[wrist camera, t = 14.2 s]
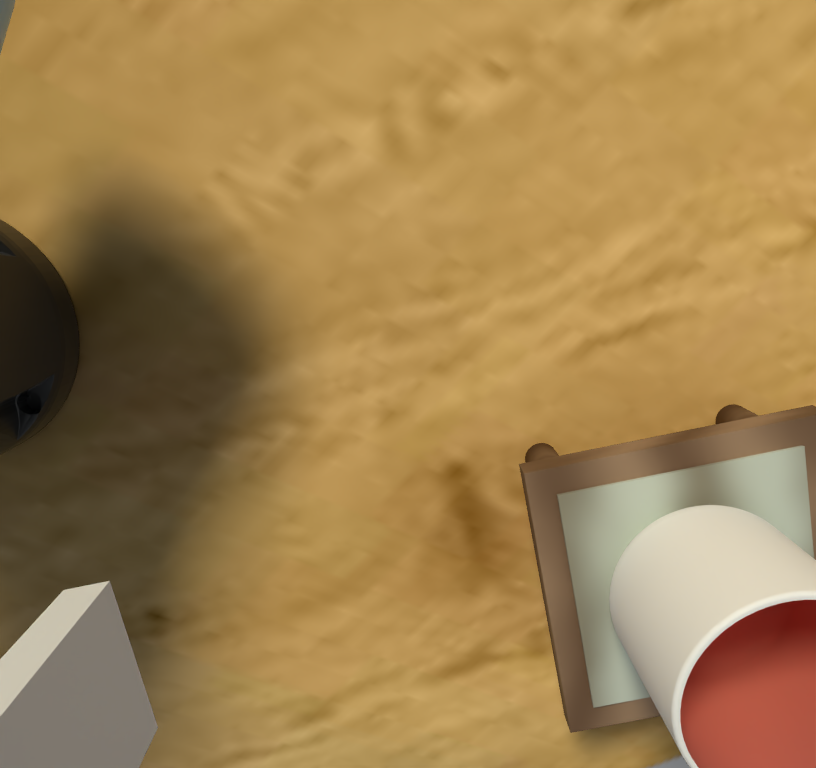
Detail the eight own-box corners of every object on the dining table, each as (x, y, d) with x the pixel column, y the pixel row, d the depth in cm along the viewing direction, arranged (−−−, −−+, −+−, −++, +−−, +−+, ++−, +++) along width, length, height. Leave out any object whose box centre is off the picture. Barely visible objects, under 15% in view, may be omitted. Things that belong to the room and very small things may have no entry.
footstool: (545, 659, 47) (571, 735, 40) (504, 434, 44) (524, 474, 37) (783, 613, 47) (851, 682, 40) (760, 382, 43) (831, 413, 36)
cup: (700, 458, 37) (811, 543, 27) (824, 576, 38) (970, 696, 29) (564, 589, 38) (621, 713, 28) (688, 697, 40) (783, 850, 30)
